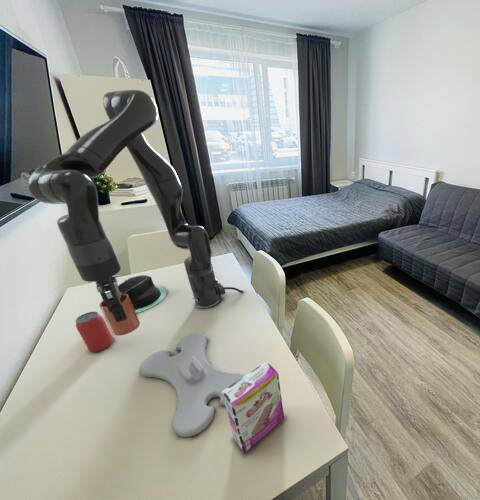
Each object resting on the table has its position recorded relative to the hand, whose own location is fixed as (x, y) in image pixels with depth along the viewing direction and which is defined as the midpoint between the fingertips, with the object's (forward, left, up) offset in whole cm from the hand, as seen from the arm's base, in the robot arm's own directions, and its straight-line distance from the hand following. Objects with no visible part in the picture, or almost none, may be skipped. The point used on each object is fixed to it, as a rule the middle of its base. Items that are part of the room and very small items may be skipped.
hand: (120, 313), depth 71 cm
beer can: (+9, -23, -22) cm, 33 cm away
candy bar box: (-17, +38, -22) cm, 47 cm away
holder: (-10, +12, -22) cm, 26 cm away
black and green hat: (-5, -45, -22) cm, 50 cm away
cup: (0, 0, -5) cm, 5 cm away
